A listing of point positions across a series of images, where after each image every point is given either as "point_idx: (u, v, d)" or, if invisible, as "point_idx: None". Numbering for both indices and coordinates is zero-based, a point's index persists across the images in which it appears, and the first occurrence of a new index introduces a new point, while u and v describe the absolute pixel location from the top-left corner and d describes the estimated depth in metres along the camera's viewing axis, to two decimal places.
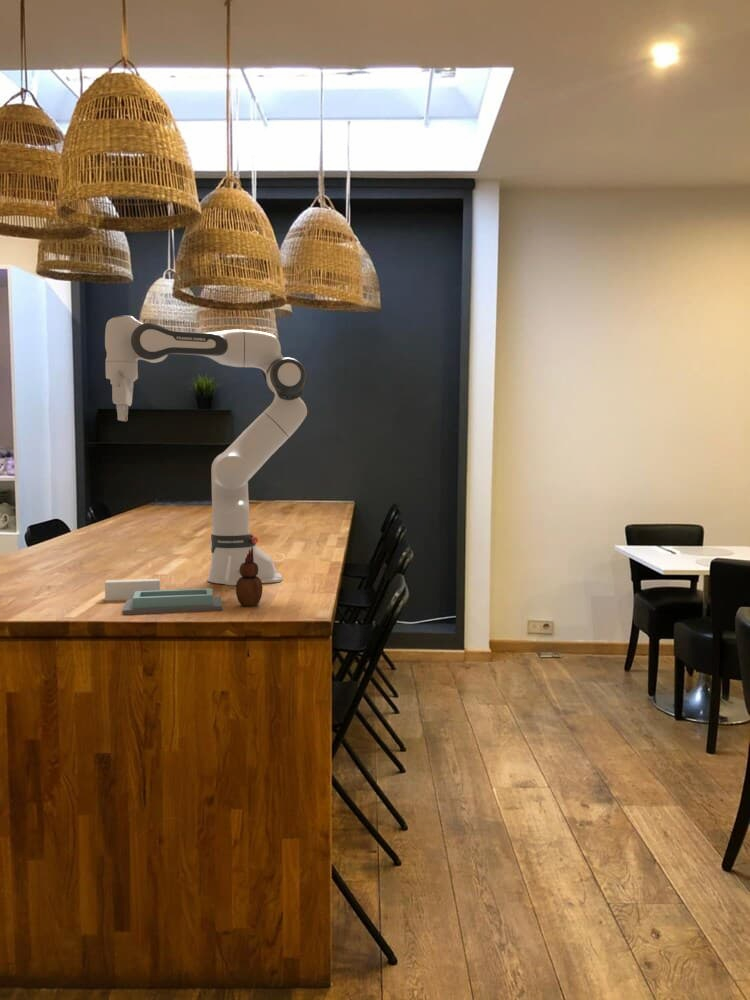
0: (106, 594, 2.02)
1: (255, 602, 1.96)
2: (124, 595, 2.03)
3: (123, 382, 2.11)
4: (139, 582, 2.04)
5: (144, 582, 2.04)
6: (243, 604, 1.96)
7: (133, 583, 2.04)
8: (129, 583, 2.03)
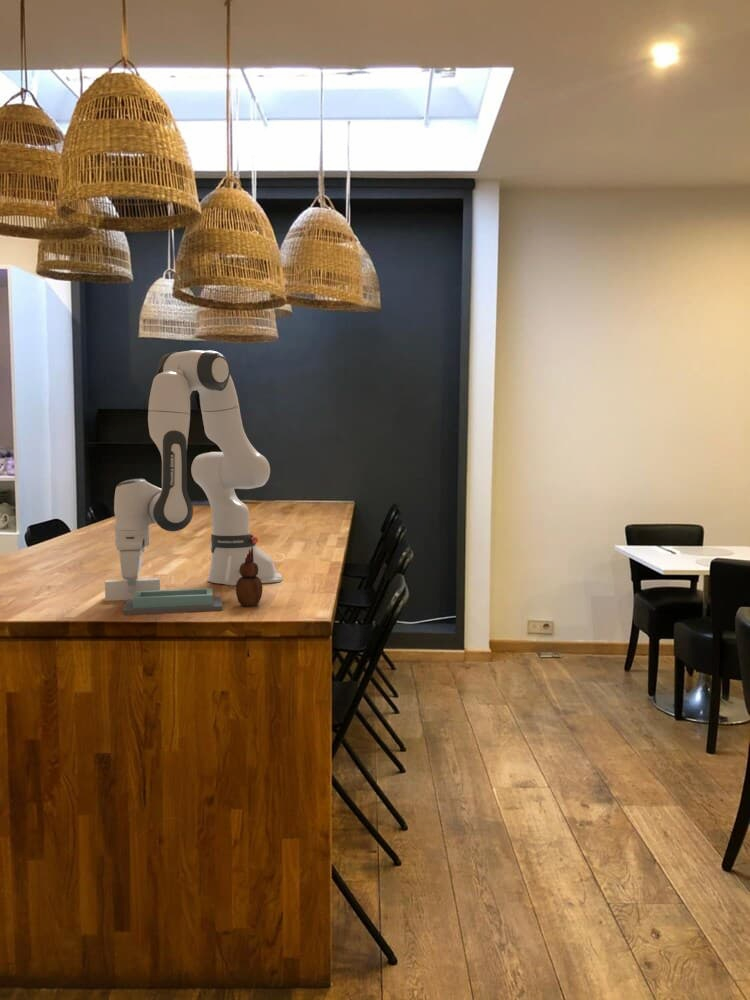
0: (106, 594, 2.02)
1: (255, 602, 1.96)
2: (124, 594, 2.03)
3: None
4: (139, 581, 2.04)
5: (144, 581, 2.04)
6: (243, 604, 1.96)
7: None
8: None
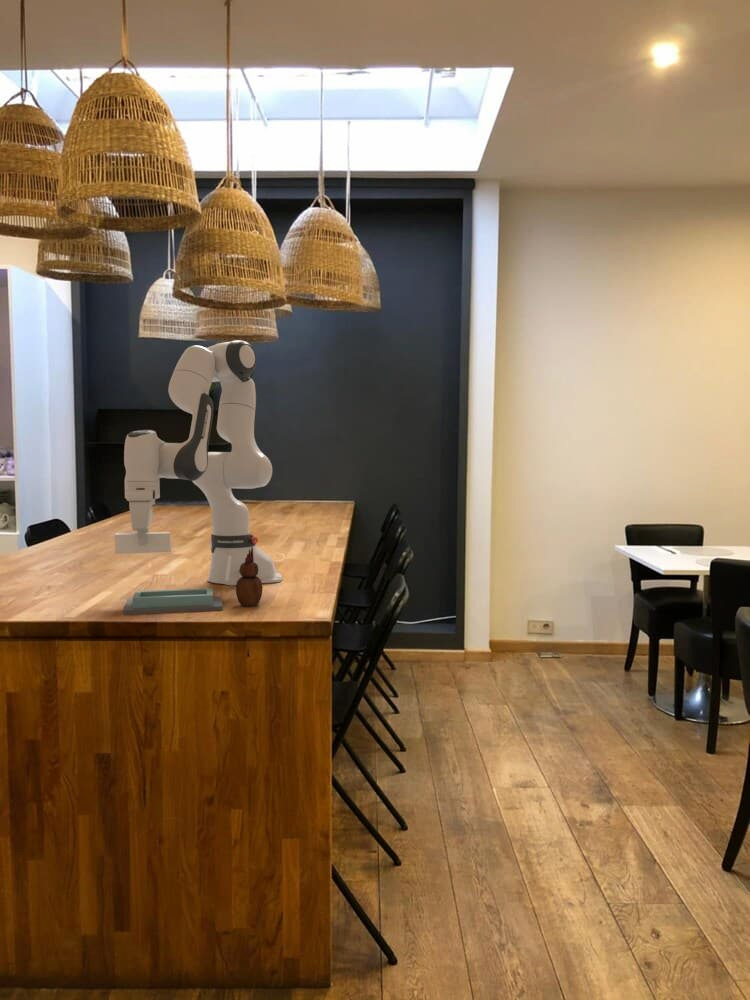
0: (116, 546, 1.98)
1: (255, 602, 1.96)
2: (134, 548, 1.99)
3: None
4: (149, 534, 2.00)
5: (154, 534, 2.00)
6: (243, 604, 1.96)
7: None
8: None
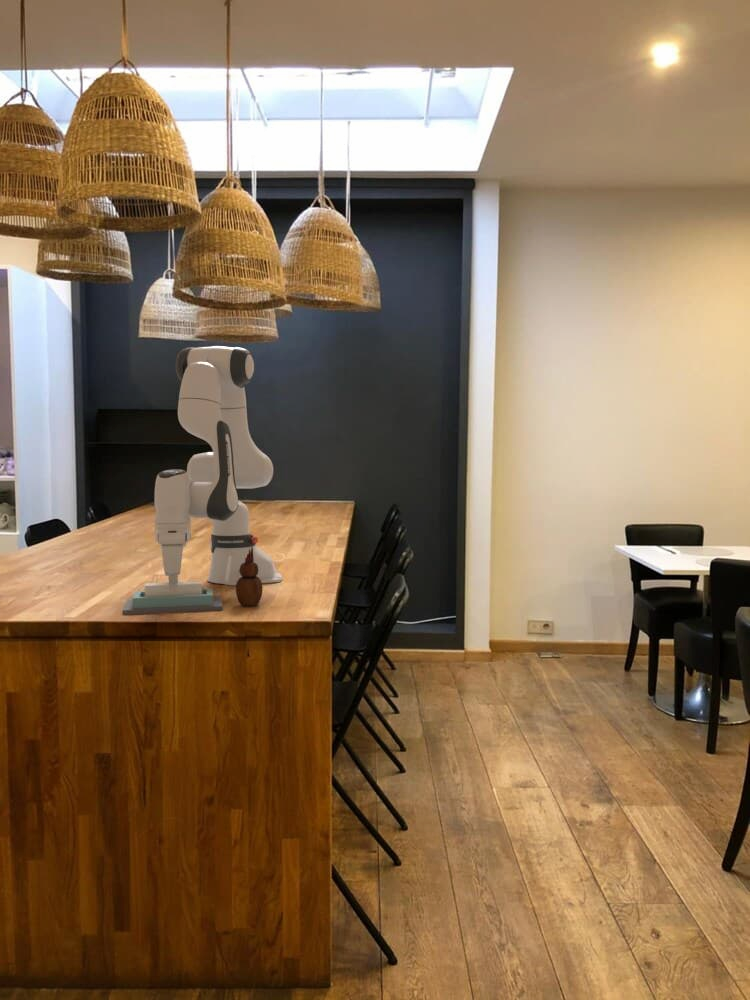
0: None
1: (255, 602, 1.96)
2: None
3: None
4: (180, 585, 1.94)
5: (186, 585, 1.94)
6: (243, 604, 1.96)
7: None
8: None
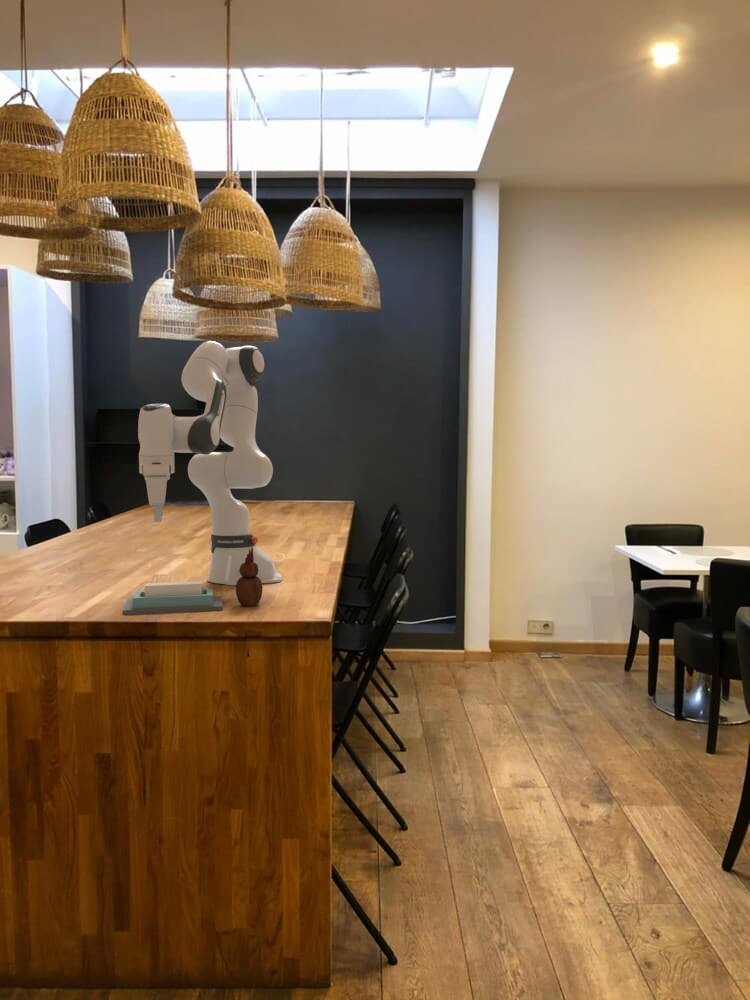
0: None
1: (255, 602, 1.96)
2: None
3: None
4: (180, 585, 1.94)
5: (186, 585, 1.94)
6: (243, 604, 1.96)
7: (174, 586, 1.93)
8: (170, 586, 1.93)
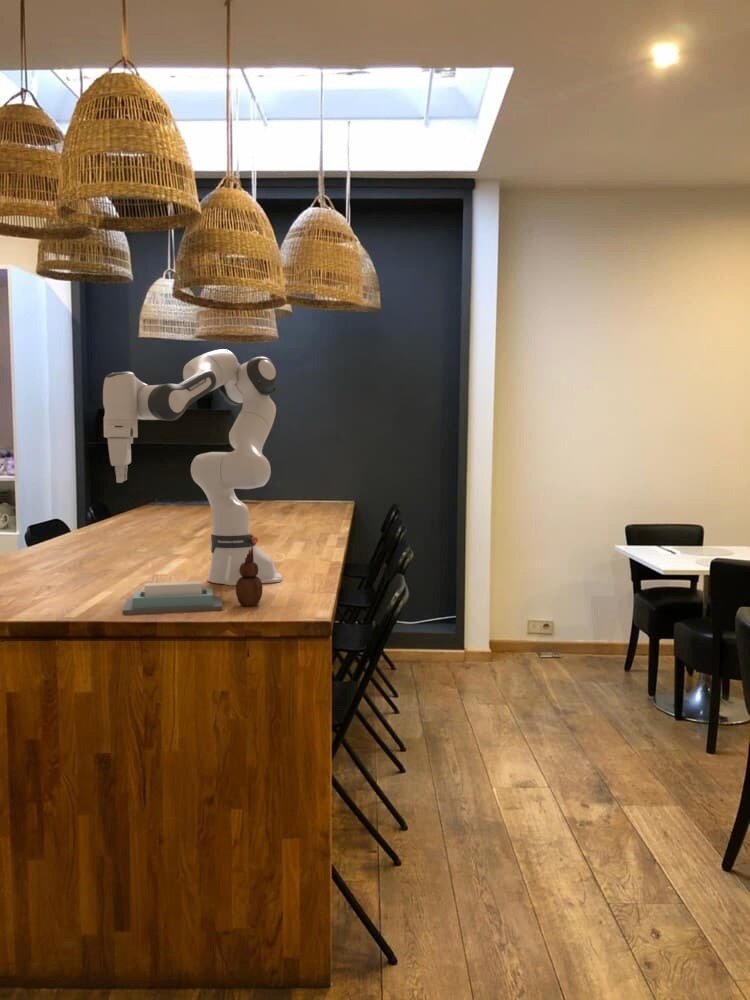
0: None
1: (255, 602, 1.96)
2: None
3: None
4: (180, 585, 1.94)
5: (186, 585, 1.94)
6: (243, 604, 1.96)
7: (174, 586, 1.93)
8: (170, 586, 1.93)
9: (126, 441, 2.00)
